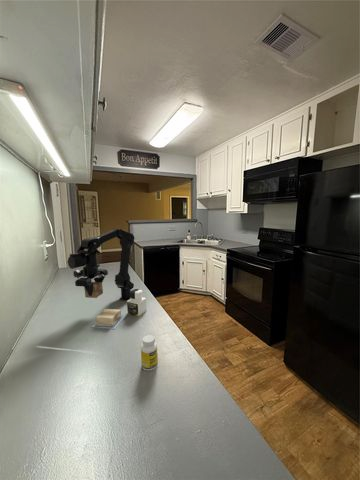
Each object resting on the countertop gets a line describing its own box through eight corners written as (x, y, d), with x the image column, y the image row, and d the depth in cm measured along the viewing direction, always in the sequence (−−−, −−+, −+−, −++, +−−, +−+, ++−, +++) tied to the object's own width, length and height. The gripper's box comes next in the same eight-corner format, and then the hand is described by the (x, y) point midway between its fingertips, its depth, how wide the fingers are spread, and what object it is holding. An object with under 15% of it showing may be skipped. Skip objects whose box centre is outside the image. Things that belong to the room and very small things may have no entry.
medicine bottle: (127, 314, 102) (125, 291, 101) (136, 308, 109) (135, 286, 107) (138, 317, 99) (136, 294, 97) (147, 310, 105) (145, 288, 104)
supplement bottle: (150, 373, 64) (149, 345, 63) (138, 367, 67) (136, 340, 66) (161, 362, 69) (159, 336, 67) (149, 357, 71) (147, 331, 70)
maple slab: (106, 316, 100) (105, 308, 99) (121, 317, 98) (120, 309, 98) (96, 325, 92) (96, 317, 91) (112, 326, 91) (112, 318, 90)
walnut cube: (92, 292, 106) (91, 281, 105) (103, 293, 105) (102, 282, 104) (85, 297, 100) (84, 285, 100) (96, 298, 99) (95, 286, 98)
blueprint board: (104, 315, 102) (104, 313, 102) (126, 316, 100) (126, 315, 100) (90, 328, 91) (90, 327, 90) (114, 330, 88) (114, 329, 88)
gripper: (88, 258, 111) (91, 285, 113) (63, 268, 93) (67, 300, 95) (107, 259, 109) (109, 286, 111) (84, 269, 91) (87, 301, 93)
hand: (94, 293), depth 103 cm, fingers closed on walnut cube, 6 cm apart
